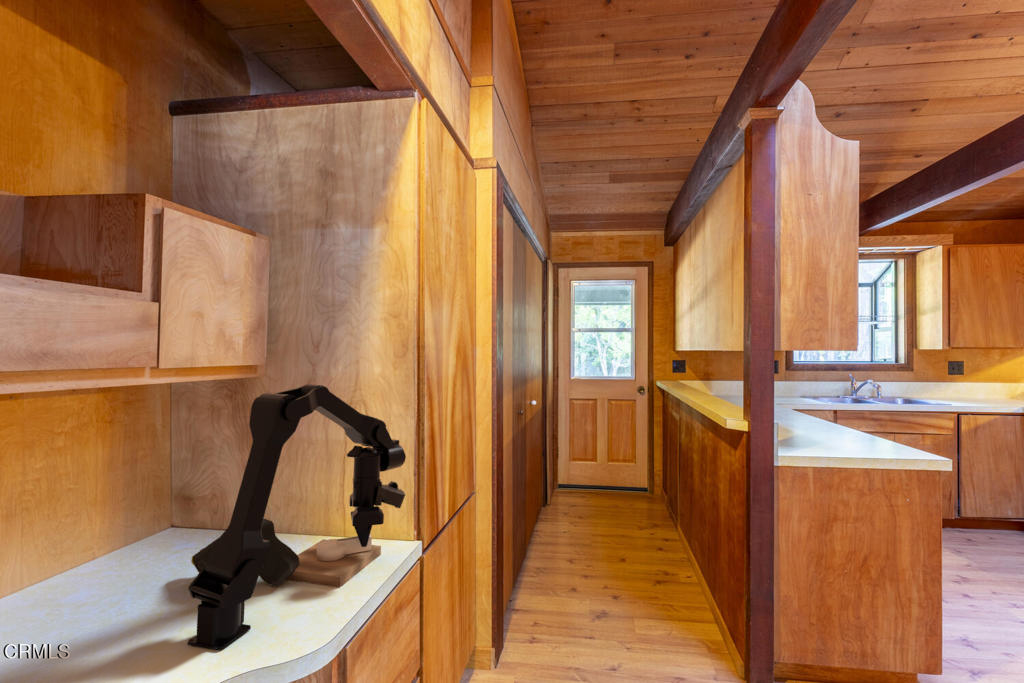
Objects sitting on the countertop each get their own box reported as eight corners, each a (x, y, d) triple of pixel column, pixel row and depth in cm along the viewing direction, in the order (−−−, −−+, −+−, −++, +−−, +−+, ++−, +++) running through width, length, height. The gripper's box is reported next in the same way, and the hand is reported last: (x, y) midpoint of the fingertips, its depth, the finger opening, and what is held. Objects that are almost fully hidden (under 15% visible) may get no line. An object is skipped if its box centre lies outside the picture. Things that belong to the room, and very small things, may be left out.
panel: (340, 587, 98) (341, 576, 98) (274, 578, 101) (274, 568, 101) (381, 554, 115) (381, 545, 115) (323, 547, 118) (323, 538, 118)
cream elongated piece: (319, 563, 104) (319, 547, 104) (314, 553, 109) (314, 538, 109) (373, 553, 110) (374, 538, 110) (366, 544, 115) (367, 530, 115)
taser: (294, 575, 96) (254, 510, 98) (225, 622, 98) (186, 558, 99) (305, 566, 101) (267, 504, 102) (239, 611, 102) (202, 549, 103)
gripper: (409, 482, 105) (406, 557, 104) (397, 465, 122) (395, 530, 121) (354, 485, 101) (351, 564, 100) (350, 468, 118) (348, 534, 117)
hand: (364, 546), depth 110 cm, fingers closed
